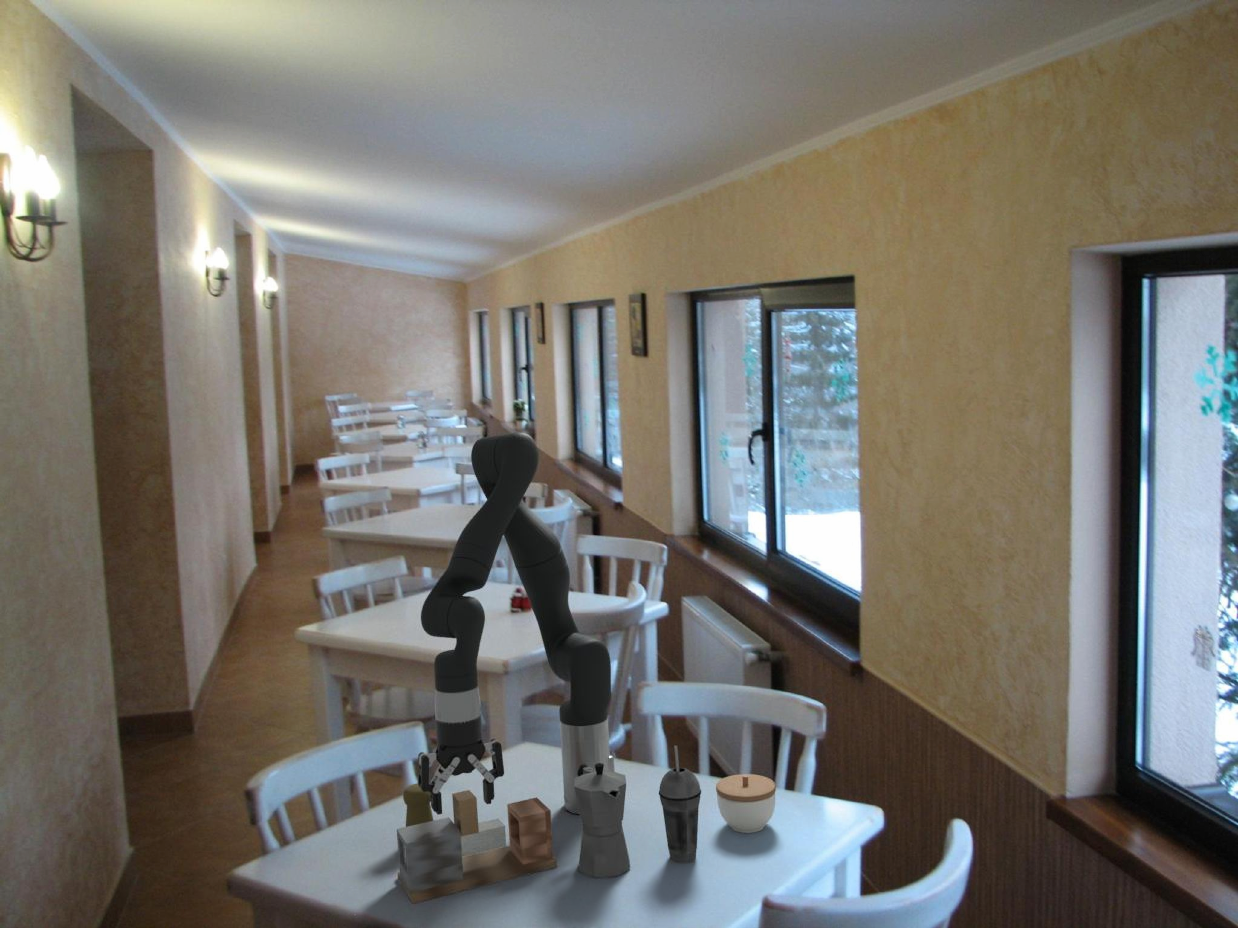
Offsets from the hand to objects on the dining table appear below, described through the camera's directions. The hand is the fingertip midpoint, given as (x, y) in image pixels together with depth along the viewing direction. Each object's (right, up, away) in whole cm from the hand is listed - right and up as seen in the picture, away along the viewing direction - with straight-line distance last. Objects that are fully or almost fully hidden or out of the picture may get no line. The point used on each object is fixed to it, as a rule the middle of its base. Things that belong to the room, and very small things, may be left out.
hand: (463, 807), depth 186 cm
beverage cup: (+37, -10, +4) cm, 39 cm away
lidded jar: (+50, -8, +15) cm, 52 cm away
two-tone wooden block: (-1, -8, 0) cm, 8 cm away
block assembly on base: (+2, -12, +2) cm, 12 cm away
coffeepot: (+23, -11, +3) cm, 26 cm away
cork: (-9, -11, +14) cm, 20 cm away
